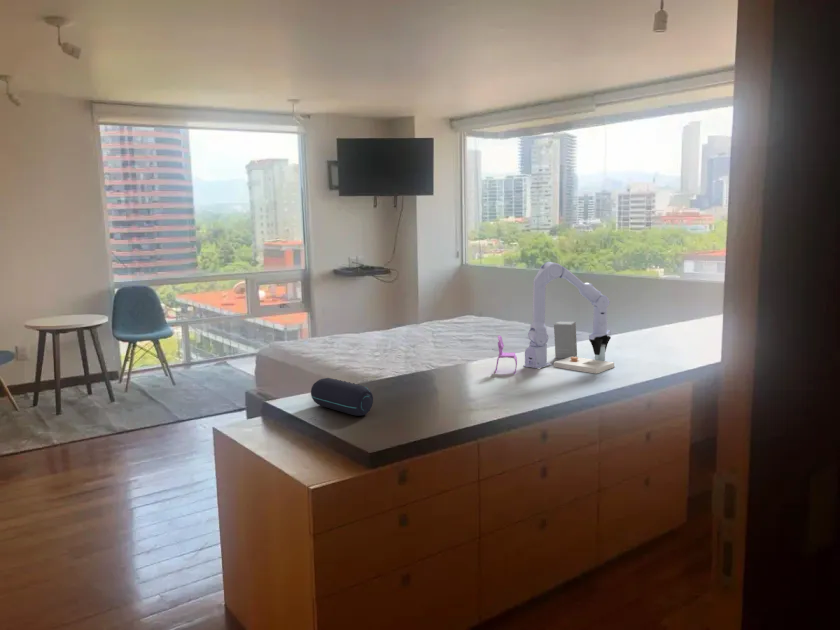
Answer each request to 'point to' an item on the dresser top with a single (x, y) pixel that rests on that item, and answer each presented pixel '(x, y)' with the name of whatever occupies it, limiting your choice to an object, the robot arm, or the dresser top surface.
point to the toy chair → (504, 355)
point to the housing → (584, 365)
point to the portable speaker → (342, 396)
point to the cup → (601, 353)
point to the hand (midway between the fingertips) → (599, 353)
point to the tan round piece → (574, 359)
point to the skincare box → (565, 339)
